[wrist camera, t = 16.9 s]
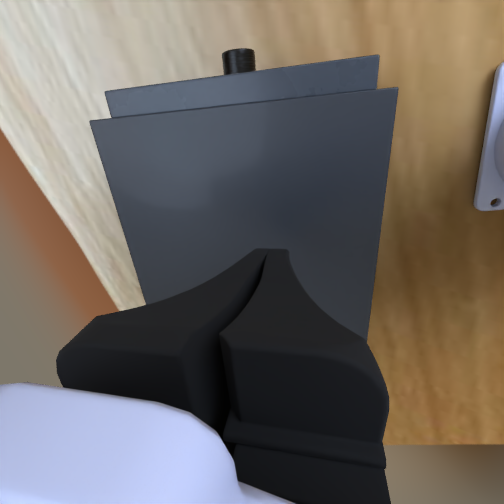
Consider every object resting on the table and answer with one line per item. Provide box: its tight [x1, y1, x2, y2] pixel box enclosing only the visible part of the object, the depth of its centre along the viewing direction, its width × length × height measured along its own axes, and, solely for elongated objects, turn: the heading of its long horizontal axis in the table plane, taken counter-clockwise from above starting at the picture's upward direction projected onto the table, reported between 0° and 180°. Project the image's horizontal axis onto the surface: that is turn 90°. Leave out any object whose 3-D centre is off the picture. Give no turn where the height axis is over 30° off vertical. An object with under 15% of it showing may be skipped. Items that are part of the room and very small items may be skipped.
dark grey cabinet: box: [89, 87, 398, 342], centre depth 18 cm, size 14×13×7 cm
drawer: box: [105, 48, 380, 118], centre depth 17 cm, size 15×12×5 cm
